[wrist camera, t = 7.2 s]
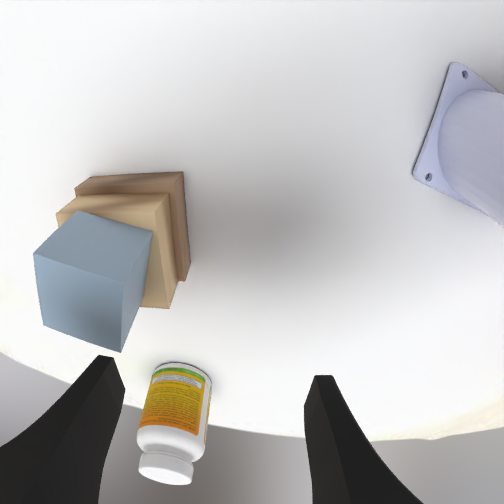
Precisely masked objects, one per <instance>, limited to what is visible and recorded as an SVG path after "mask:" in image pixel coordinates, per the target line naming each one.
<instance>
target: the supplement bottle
mask: <svg viewBox="0 0 504 504" xmlns="http://www.w3.org/2000/svg"><path fill="white" fill-rule="evenodd" d="M211 388H212V386H211V381H210V379H209V378H208V377H207V375H205V374H204V373H203V372H202V371H200V370H199V369H197V368H195V367H192V366H189V365H186V364H181V363H169V364H164V365H162V366H160V367H158V368H157V369H156V370H155V371H154V373H153V376H152V379H151V382H150V386H149V390H148V394H147V398H146V401H145V405H144V409H143V413H142V417H141V421H140V424H139V428H138V432H137V443H138V445H139V446H140V448H141V449H142V450H143V451H144V452H145V453H143V454H142V455H141V459H140V463H139V472H140V473H141V474H142V475H144V476H146V477H148V478H150V479H152V480H155V481H158V482H162V483H167V484H173V485H185V484H189V483H190V482H191V481H192V474H193V465H192V463H191V462H194V461H196V460H198V459H199V458H201V456H202V455H203V453H204V449H205V442H206V432H207V423H208V415H209V407H210V399H211Z"/></svg>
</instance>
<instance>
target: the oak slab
mask: <svg viewBox="0 0 504 504" xmlns="http://www.w3.org/2000/svg"><path fill="white" fill-rule="evenodd" d="M77 210H78V211H82V212H85V213H89V214H93V215H96V216H100V217H103V218H107V219H111V220H114V221H118V222H122V223H125V224H129V225H133V226H136V227H140V228H144V229H147V230H151V231H153V235H152V241H151V248H150V254H149V261H148V268H147V275H146V282H145V290H144V297H143V300H142V302H141V304H140V307H149V308H164V309H169V308H170V305H171V302H172V299H173V296H174V293H175V290H176V287H177V284H178V275H177V267H176V259H175V251H174V242H173V233H172V223H171V213H170V202H169V193H131V194H105V195H85V196H77V197H76V198H75V199H73V200H72V201H71V202H70V203H68V204H67V205H66V206H65V207H64V208H62V209H61V210H60V211H59V212H58V213H56V218H57V222H58V227H60V226H61V225H62V224H63V223H64V222H65V221H66V220H68V219H69V218H70V217H71V216H72V215H73V214H74V213H75V212H76V211H77Z"/></svg>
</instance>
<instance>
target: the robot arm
mask: <svg viewBox="0 0 504 504" xmlns="http://www.w3.org/2000/svg"><path fill="white" fill-rule="evenodd" d="M462 71H463V72H464V74H465V77H464V78H463V76H462ZM428 173H429V178H428V179H425V176H426V174H428ZM413 176H414V178H415V179H416V180H417V181H419V182H421V183H423V184H425V185H428V186H430V187H432V188H434V189H436V190H438V191H440V192H442V193H445V194H447V195H449V196H451V197H453V198H455V199H457V200H459V201H461V202H463V203H465V204H467V205H469V206H471V207H472V208H474V209H476V210H478V211H480V212H482V213H484V214H486V215H487V216H489V217H491V218H492V219H493V220H494V221H496V222H497V223H498V224H499V225H501V226H502V227H503V228H504V94H501V93H499V92H498V91H497V90H496V89H494V88H493V87H492V86H491V85H489V84H488V83H487V82H485V81H484V80H483V79H482V78H480V77H479V76H477V75H476V74H475V73H473V72H472V71H471V70H469V69H468V68H466V67H465V66H463V65H462V64H461V63H458V62H453V63H452V64H451V65H450V67H449V71H448V74H447V77H446V81H445V84H444V87H443V90H442V93H441V97H440V100H439V103H438V106H437V109H436V112H435V115H434V117H433V120H432V123H431V126H430V129H429V131H428V134H427V137H426V140H425V142H424V145H423V147H422V150H421V153H420V155H419V158H418V160H417V163H416V165H415V168H414V171H413ZM124 394H125V387H124V385H123V382H122V380H121V377H120V374H119V372H118V369H117V366H116V363H115V361H114V358H113V357H108V356H102V355H98V356H97V357H96V358H95V359H94V360H93V362H92V363H91V364H90V365H89V366H88V367H87V368H86V370H85V371H84V372H83V373H82V374H81V375H80V376H79V378H78V379H77V380H76V381H75V382H74V383H73V384H72V385H71V387H70V388H69V389H68V390H67V391H66V392H65V393H64V394H63V395H62V396H61V397H60V399H58V400H57V401H56V402H55V404H54V405H52V406H51V407H50V408H49V410H47V411H46V412H45V413H44V414H43V415H42V416H41V417H40V418H39V419H38V420H37V421H35V422H34V423H33V424H32V425H31V426H29V427H28V428H27V429H26V430H24V431H23V432H22V433H20V434H19V435H18V436H17V437H15V438H14V439H12V440H11V441H10V442H8V443H6V444H4V445H3V446H1V447H0V504H98V498H99V490H100V483H101V477H102V471H103V467H104V463H105V459H106V456H107V453H108V449H109V446H110V443H111V440H112V437H113V434H114V431H115V428H116V425H117V422H118V419H119V416H120V413H121V409H122V404H123V399H124ZM304 427H305V437H306V444H307V451H308V458H309V465H310V472H311V479H312V493H313V504H423V503H422V502H421V501H420V500H419V499H418V498H417V497H415V496H414V495H413V494H412V493H411V492H410V491H409V490H408V489H407V488H406V487H405V486H404V485H403V484H402V483H401V482H400V481H399V480H398V478H397V477H396V476H395V475H394V474H393V473H392V472H391V470H390V469H389V468H388V467H387V466H386V464H385V463H384V462H383V461H382V460H381V458H380V457H379V455H378V454H377V453H376V451H375V450H374V448H373V447H372V445H371V444H370V442H369V441H368V439H367V438H366V436H365V435H364V433H363V432H362V430H361V428H360V427H359V425H358V423H357V422H356V420H355V418H354V416H353V415H352V413H351V411H350V409H349V407H348V406H347V404H346V402H345V400H344V398H343V396H342V394H341V392H340V390H339V388H338V386H337V384H336V381H335V379H334V377H333V376H332V375H315V376H314V379H313V382H312V385H311V388H310V391H309V393H308V396H307V399H306V402H305V404H304Z"/></svg>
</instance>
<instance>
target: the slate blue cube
mask: <svg viewBox="0 0 504 504" xmlns="http://www.w3.org/2000/svg"><path fill="white" fill-rule="evenodd" d="M152 235H153V231H151V230H147V229H144V228H140V227H136V226H133V225H129V224H125V223H122V222H118V221H114V220H111V219H107V218H103V217H100V216H96V215H93V214H89V213H85V212H82V211H78V210H77V211H76V212H75V213H74V214H73V215H72V216H71V217H70V218H69V219H68V220H66V221H65V222H64V223H63V224H62V225H61V226H60V227H59V228H58V229H57V230H56V231H55V232H54V233H53V234H52V235H51V236H50V237H49V238H48V239H47V240H46V241H45V242H44V243H43V244H42V245H41V246H40V247H39V248H38V249H37V250H36V251H35V252H34V253H33V256H34V266H35V275H36V283H37V290H38V296H39V303H40V309H41V314H42V320H43V325H44V326H47V327H49V328H52V329H54V330H57V331H60V332H62V333H65V334H67V335H70V336H73V337H75V338H78V339H81V340H84V341H87V342H89V343H92V344H95V345H98V346H101V347H104V348H107V349H110V350H113V351H117V352H120V353H121V351H122V349H123V346H124V344H125V341H126V338H127V336H128V333H129V331H130V328H131V326H132V324H133V321H134V319H135V316H136V314H137V311H138V309H139V307H140V304H141V302H142V300H143V297H144V290H145V282H146V275H147V268H148V261H149V254H150V248H151V241H152Z"/></svg>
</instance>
